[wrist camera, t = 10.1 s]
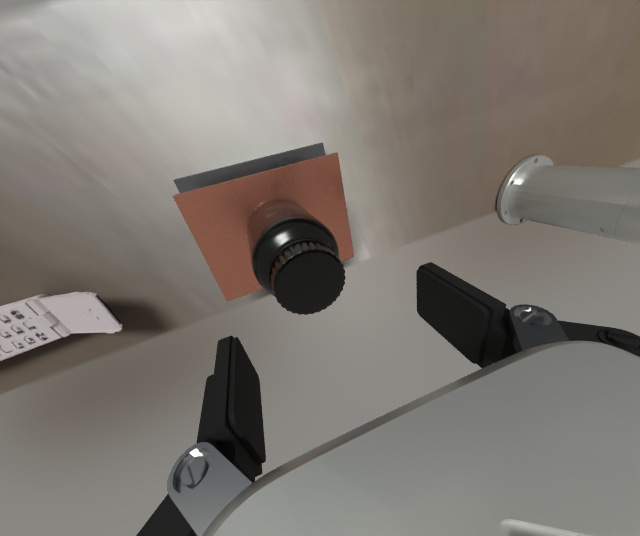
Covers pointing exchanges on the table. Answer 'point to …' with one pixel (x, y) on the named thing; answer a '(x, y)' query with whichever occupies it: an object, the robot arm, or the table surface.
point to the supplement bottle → (295, 257)
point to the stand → (247, 196)
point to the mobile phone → (52, 320)
